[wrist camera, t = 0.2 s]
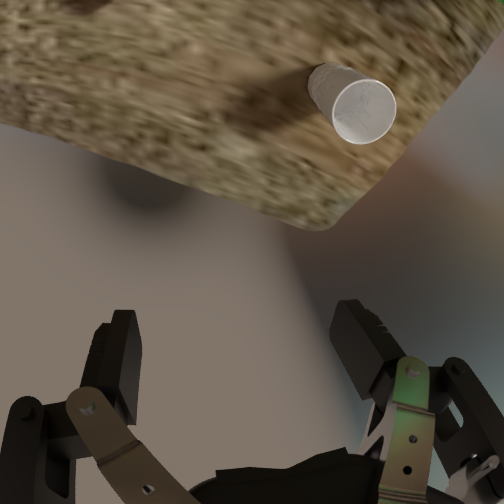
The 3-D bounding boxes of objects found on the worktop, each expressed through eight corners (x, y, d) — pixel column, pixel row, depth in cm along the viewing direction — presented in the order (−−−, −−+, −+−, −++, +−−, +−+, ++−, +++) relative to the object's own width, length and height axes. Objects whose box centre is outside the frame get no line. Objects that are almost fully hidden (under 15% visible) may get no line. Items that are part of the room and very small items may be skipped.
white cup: (293, 99, 34) (319, 131, 28) (317, 48, 29) (352, 66, 23) (341, 118, 37) (374, 153, 31) (366, 73, 32) (407, 98, 25)
